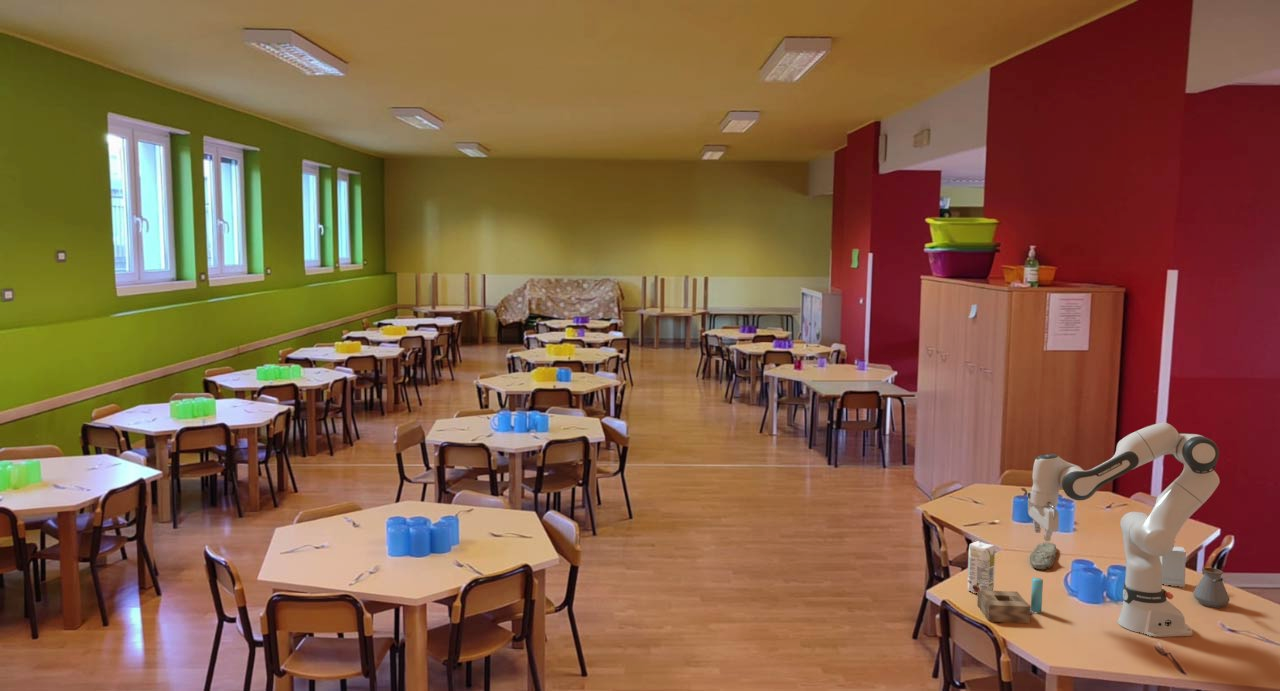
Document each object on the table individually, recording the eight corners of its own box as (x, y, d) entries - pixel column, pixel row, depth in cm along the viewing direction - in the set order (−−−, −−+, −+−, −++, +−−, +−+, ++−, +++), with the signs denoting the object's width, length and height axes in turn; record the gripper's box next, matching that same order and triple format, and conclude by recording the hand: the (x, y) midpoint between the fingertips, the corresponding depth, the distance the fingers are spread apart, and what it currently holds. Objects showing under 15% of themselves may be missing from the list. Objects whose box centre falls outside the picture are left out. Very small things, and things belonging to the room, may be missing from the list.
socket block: (1016, 607, 318) (1017, 591, 317) (1029, 622, 304) (1030, 606, 303) (977, 605, 319) (977, 590, 319) (988, 621, 305) (989, 605, 305)
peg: (1039, 609, 316) (1040, 577, 315) (1043, 613, 312) (1044, 581, 311) (1029, 609, 316) (1030, 577, 315) (1032, 612, 313) (1034, 581, 312)
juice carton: (985, 597, 327) (987, 549, 325) (964, 591, 334) (966, 543, 332) (995, 592, 332) (997, 545, 330) (974, 586, 338) (976, 539, 337)
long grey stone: (1060, 552, 383) (1036, 550, 388) (1060, 540, 383) (1036, 538, 388) (1053, 572, 353) (1026, 569, 358) (1053, 559, 353) (1026, 556, 358)
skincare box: (1182, 583, 342) (1184, 546, 340) (1185, 588, 336) (1187, 551, 335) (1157, 580, 345) (1160, 544, 344) (1160, 585, 340) (1162, 548, 338)
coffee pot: (1189, 595, 329) (1192, 557, 327) (1225, 600, 324) (1228, 562, 323) (1200, 616, 309) (1203, 576, 308) (1238, 622, 305) (1241, 581, 303)
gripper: (1065, 507, 297) (1062, 546, 299) (1043, 491, 318) (1040, 528, 319) (1046, 506, 298) (1043, 545, 299) (1025, 491, 318) (1023, 527, 319)
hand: (1042, 536), depth 309 cm, fingers open, 8 cm apart
